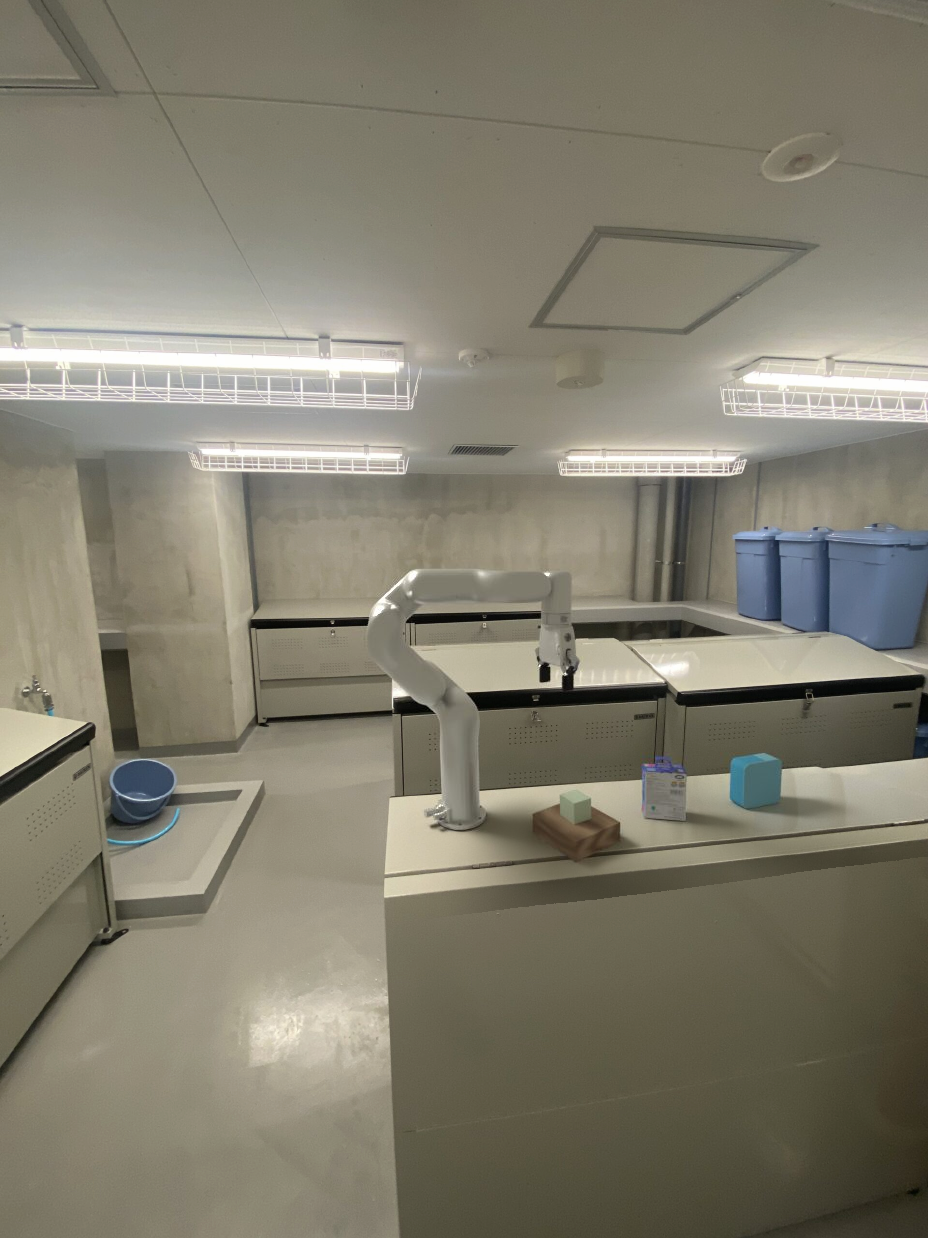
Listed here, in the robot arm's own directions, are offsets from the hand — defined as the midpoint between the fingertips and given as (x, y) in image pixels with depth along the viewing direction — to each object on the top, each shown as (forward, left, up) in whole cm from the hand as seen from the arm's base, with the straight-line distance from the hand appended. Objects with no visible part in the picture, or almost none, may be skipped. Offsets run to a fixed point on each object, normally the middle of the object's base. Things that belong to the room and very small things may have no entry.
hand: (555, 686), depth 121 cm
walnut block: (-6, -14, -32) cm, 36 cm away
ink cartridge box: (+19, -18, -32) cm, 41 cm away
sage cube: (-5, -13, -27) cm, 31 cm away
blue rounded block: (+44, -26, -32) cm, 60 cm away
